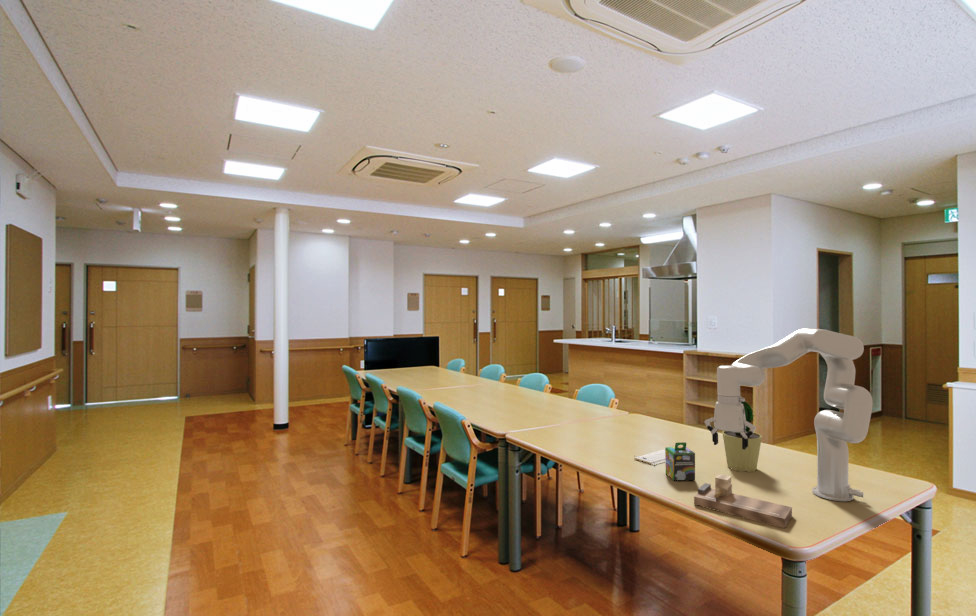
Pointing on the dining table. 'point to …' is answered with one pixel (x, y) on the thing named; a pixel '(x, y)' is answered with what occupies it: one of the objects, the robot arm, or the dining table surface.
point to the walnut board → (744, 507)
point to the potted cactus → (733, 446)
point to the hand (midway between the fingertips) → (730, 446)
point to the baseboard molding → (653, 457)
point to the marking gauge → (722, 486)
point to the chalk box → (680, 462)
